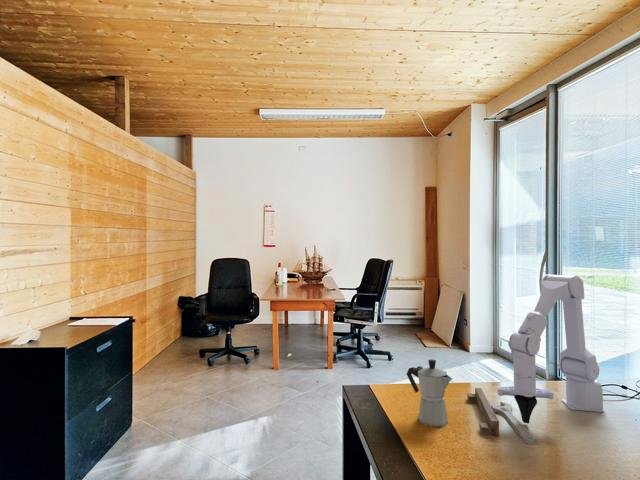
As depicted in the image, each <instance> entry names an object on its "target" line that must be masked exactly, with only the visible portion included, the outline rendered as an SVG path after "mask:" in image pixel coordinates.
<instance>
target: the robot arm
mask: <svg viewBox="0 0 640 480" xmlns="http://www.w3.org/2000/svg"><path fill="white" fill-rule="evenodd" d="M540 287H541V294H540V296H539V298H538V301H537V303H536V305H535V307H534V309H533V311H530V312H527V314H526V316H525V318H524V319H523V322H522V323H521V326H520V327H519V329H518V330H517V331H515V332H514V333H512V334H510V337H509V340H508V344H507V345H508V348H509V349H510V353H511V354H510V355H511V357H512V358H513V359H512V360H513V363H512V364H513V386H497V387H496V388H497V394H498V395H497V396H499V397H503V396H509V397H513V398H514V400H515V401H516V403H517V406H518V409H519V413H520V416H521V422H523V423H524V424H529V423H530V419H531V415H532V413H533V411H534V409H535V407H536V406H537V404H538V400H537V398H540V399H543V398H544V399H548V400H554V398H555V397H554V395H555V394H554V392H553V391H552V390H551V389H544V388H543V389H542V388H537V379H536V377H537V376H536V375H537V374H536V370H537V369H536V355H537V353H538V352H539V351H540V348H541V341H542V338H541V336H542V335H543V333H544V330H545V329H546V328H547V325H548V320H547V316H548V315H549V313H550V311H552V309H553V308H554V306H555V304H556V303H557V301H558V300H560V301H561V302H562V307H563V308H562V309H563V320H564V331H565V342H566V344H565V345H566V348H565V349H563V350H561V351H560V352H559V361H558V368H559V371H560V372H561V373H562V374H563V377H565V398H561V401H562V402H563V403H564V405H566V406H567V407H568V408H569V409H570V410H572V411H573V410H574V411H587V412H597V413H600V412H601V413H602V412H603V413H604V412H605V410H604V394H603V393H604V392H603V388H602V383H601V382H600V380H598V378H599V375H600V366H599V365H598V362H597V357H596V355H595V354H594V353H592V352H591V351H590V350H588V349H587V348H586V339H585V323H584V315H583V313H584V312H583V302H582V300H584V299H585V288H584V280H583V279H582V278H581V277H579V276H578V275H564V274H563V275H562V274H550V273H548V274H545V275H544V276H543V278H542V280H541V282H540Z"/></svg>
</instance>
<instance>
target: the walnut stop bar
mask: <svg viewBox="0 0 640 480" xmlns="http://www.w3.org/2000/svg"><path fill="white" fill-rule="evenodd" d="M466 398H467V399H466V400H467V401H468V404H469V403H471V404H476V405H477V407H478V410H479V411H480V413H481V416H482V418H483V420H484V422H479V431H480V433H481V435H483V436H492V437H493V436H494V437H500V421H499V419H498V417H497V415H496V414H495V413H496V412H494V411H493V409H492V407H491V403H490V402H489V400H488V397H487V396H486V394H485V393H484V391H483V388H482V387H474V393H469V392H468V393H467V397H466Z"/></svg>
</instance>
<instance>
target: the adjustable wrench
mask: <svg viewBox="0 0 640 480" xmlns="http://www.w3.org/2000/svg"><path fill="white" fill-rule="evenodd" d="M500 405H501V406H499V405H498V404H496V403H494V402H492V403H490V406H491V407H492V409H493V411H494V413H496V412H497V414H499V415H501V416H503V417H504V418H505V420H506V421H507V420H508V423H509V424H510V426H511V427H512V428H513V429H514V430H515V432H516V433H517V434H518V435H519V437H520V438H521V439H522V440H523V442H524V443H526V444H529V445H530V444H531V445H533V444H535V441H536V440H535V439H536V438H535V437H534V435H532V433H531V432H530V431H529V430H528V429H527V428H526V427H525V426H524V425H523V424H522V423H521V422H520V421H519V419H517V417H516V416H515V415H514V414H513V413H511V412H513V405H512V404H510V403H508V402H506V401H500Z"/></svg>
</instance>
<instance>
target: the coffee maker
mask: <svg viewBox="0 0 640 480" xmlns="http://www.w3.org/2000/svg"><path fill="white" fill-rule="evenodd" d="M427 362H428V366H429V367H423V366H421V365H419V366H417V367H412V366H411V367H409V368H408V370H407V372H406V376H407V379H408V380H409V382H410V384H411V387H412V388H413V391H414V393H416V394H417V393H418V392H419V391H420V395H422V396H420V403H419V409H418V414H417V415H418V417H417V419H418V420H419V422H420V424H421V425H425V426H428V427H431V428H441V427H443V428H444V427H445V426H446V425H447V424H448V423H449V419H448V414H447V408H446V407H447V406H446V401H445V399H444V397H445V393H446V388H447V387H448V385H449V384H450V382H451V381H452V380H453V377H451V376H449V375H448V373H447V371H446V370H443V369H440V368H437V367H436V363H437V360H436V359H428V360H427ZM413 376H415V377H417V378H418V384H419V387H418V385H417V383H416V381H415V378H414V377H413Z"/></svg>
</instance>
